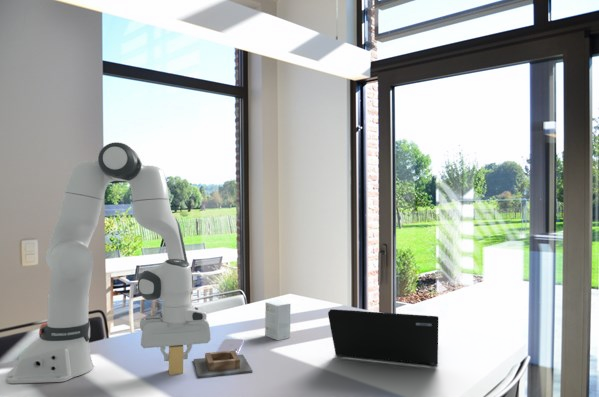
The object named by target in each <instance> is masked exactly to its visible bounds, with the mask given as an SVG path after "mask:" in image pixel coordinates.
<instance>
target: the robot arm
mask: <svg viewBox="0 0 599 397" xmlns="http://www.w3.org/2000/svg"><path fill="white" fill-rule="evenodd" d="M119 183H120V184H121V183H128V184H129V186H130V189H131V190H130V191H131V196H132V198H131V199H132V212H133V216H134V218H135V219H134V220H135V221H136V223H137V224H139V225H140V227H142V228H144V229H146V230H148V231H151V232H153V233H155V234H156V235H159V236H160V237H161V238H162V240H163V241H164V244H165V249H166V254H167V258H168V259H166V260H165V261H163V263H162V264H160V265H158V266H156V267H153V268H150V269H147V270H144V271H142V273H141V274H140V275H139V277H138V279H137V291H138V293H139V295H140V296H141V297H142V298H143V299H144V300H146V301H157V300H161V309H160V310H161V312H160V313H161V314H154V315H153V314H152V315H150V314H149V315H145V316H144V317H142V318H141V319H140V321H139V328H140V330H141V331H142V332H141V338H140V346H141V347H142V348H143V349H150V348H151V349H152V348H160V352H161V354H162V355H163V361H164V362H169V352H168V353H167V352H166V347H169V346H177V345H183V346H186V350H185V351H183V360H188V359H189V353H190V352H191V350H192V348H193V345H201V344H208V343H210V341H211V327H210V324H209V321H208V319H207V312H206V310H205V309H204V308H202V307H201V308H200V307H197V306H194V305H193V304H192V303H193V302H192V298H191V297H192V291H193V283H194V278H193V277H194V276H193V273H192V268H191V264H190V263H189V262H188V258H187V253H186V248H185V243H184V237H183V233H182V230H181V229H182V228H181V225H180V223H179V220H178V219H177V218H176V217H175V215H174V214H173V211H172V209H171V205H170V195H169V194H170V193H169V188H168V182H167V179H166V174H165V172H164V170H162V169H161V168H160V167H158V166H154V165H145V164H143V162H142V161H141V159H140V157H139V155H138V153H137V152H136V151H135V150H134V149H132V148H131V146H129V145H127V144H126V143H122V142H110V143H108V144H106V145H104V146H103V147H102V148H101V149H100V151H99V154H98V157H97V160H96V161H93V160H81V161H79V162H77V163H75V165H74V166H73V168H72V170H71V172H70V175H69V177H68V180H67V183H66V186H65V190H64V193H63V196H62V197H63V198H62V201H61V206H60V208H59V213H58V218H57V220H56V224H55V225H54V228H53V232H52V234H51V237H50V240H49V243H48V246H47V250H46V253H45V263H46V265H47V267H48V268H49V270H50V280H49V281H50V282H49V290H48V295H47V317H46V318H47V322H43V323H42V324H41V325H40V328H39V333H38V336H39V338H38V339H36V341H34V342H32V343H31V344H30V345H29V346H28V347H26V348H25V349H24V350H23V351H21V353H20V354H19V355H18V356H19V357H18V358H17V362H16V366H15V367H13V368H12V369H11V370H10V371H9V372H8V373H7V374H6V379H5V380H6V382H7V383H8V384H35V383H36V384H37V383H39V384H41V383H62V382H66V381H69V380H71V379H72V378H75V377H78V376H81V375H85V374H87V373H89V372H90V371H92V370H93V368H94V363H93V360H92V356H91V350H90V349H91V348H90V338H91V324H90V322H91V321H90V320H89V304H90V303H89V299H90V298H89V296H90V289H91V284H92V276H93V269H94V264H95V259H94V254H93V252H92V250H91V249H90V248H89V245H90V242H91V240H92V237H93V235H94V233H95V230H96V228H97V226H98V225H99V218H100V216H101V211H102V207H103V203H104V198H105V193H106V189H107V188H108V186H109V184H119Z"/></svg>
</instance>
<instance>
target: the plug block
mask: <svg viewBox="0 0 599 397" xmlns="http://www.w3.org/2000/svg"><path fill="white" fill-rule="evenodd" d="M183 352H184V345H177V346H168V353H169V361H168V375H169V376H170V375H171V376H173V375H181V374H184V359H183Z"/></svg>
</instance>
